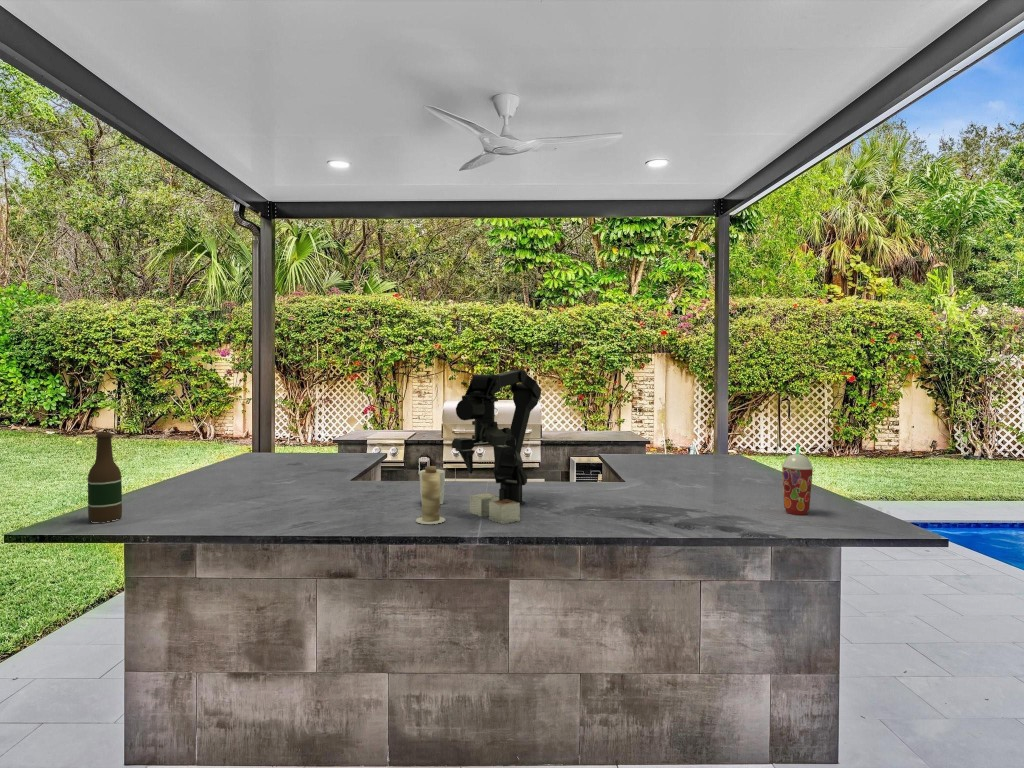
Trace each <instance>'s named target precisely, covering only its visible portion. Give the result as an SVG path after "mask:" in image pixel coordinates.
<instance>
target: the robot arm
mask: <svg viewBox="0 0 1024 768" xmlns="http://www.w3.org/2000/svg"><path fill="white" fill-rule="evenodd" d="M508 386H509V390H510V392H511V394H512V401H513V403H514V406H515V408H514V413H513V416H512V419H511V420H512V421H511V424H510V427H503V428H499V427H498V424H499V423H498V421H495V407H496V405H495V403H496V402H499V399H498V398H497V396H496V395H495V394H497V393H499V392H500V391H501V389H502V388H505V387H508ZM541 395H542V389H541V387H540V385H539V384H538V382H537V381H536V379H534V378H532V377H531V376H530V375H528V373H527V372H526V370H524V369H510V370H508V371H504V372H500V373H496V374H487V373H486V374H484V373H483V374H480V373H479V374H474V375H473V376H472V379H471V380H470V383H469V385H468V387H467V390H466V392H465V394H464V395H462V396H461V400H460V401H459V402H458V403H457V404H456V407H455V413H456V416H457V417H458V418H459V420H461V421H471V424H472V426H474V434H472V435H471V438H469V437H457V438H456V437H454V438H453V440H452V442H451V449H454V450H455V451H456V452H458V453H459V455H460V456H461V458H462V460H463V462H464V464H465V466H466V469H467V471H468V474H470V475H471V474H473V473H474V472H473V470H474V463H473V462H474V458H473V456H474V454H475V452H476V450H473V449H474V447H480V446H492V448H493V457H494V464H493V465H494V466H493V474H494V475H493V476H494V480H495V484H499V489H498V497H499V500H504V499H508V500H512V501H515V502H518V503H520V505H523V504H526V501H524V500H523V486H526V484H527V483H528V477H529V476H528V475H527V474H526V472H525V470H524V461H523V458H522V456H521V454H522V453H521V452H522V448H523V445H524V441H525V436H526V431H527V427H528V422H529V419H530V414H531V412H532V411H533V410H534V409H535V407H537V405H538V404H539V400H540V399H541V398H540V397H541Z"/></svg>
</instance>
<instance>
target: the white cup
mask: <svg viewBox="0 0 1024 768" xmlns="http://www.w3.org/2000/svg"><path fill="white" fill-rule="evenodd" d="M424 471H425V469H422V470H420V471H418V473H419V490H420V503H421V504H422V472H424ZM436 471H438V472H440V504H441V505H443V504H444V495H445V487H446V486H445V482H446V481H445V480H446V479H445V477H446V470H444V469H437V468H436Z"/></svg>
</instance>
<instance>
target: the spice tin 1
mask: <svg viewBox="0 0 1024 768" xmlns="http://www.w3.org/2000/svg"><path fill="white" fill-rule="evenodd" d="M498 500H499V495H494V494H491V493H488V492H486V493H485V492H484V493H480V494H478V493H477V494H471V495H469V513H470V514H471V515H472V514H473V515H474V516H478V517H480V516H481V518H483V517H487V516H488V517H489V502H491V501H498ZM482 516H483V517H482Z"/></svg>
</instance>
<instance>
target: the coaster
mask: <svg viewBox="0 0 1024 768" xmlns="http://www.w3.org/2000/svg"><path fill="white" fill-rule="evenodd" d="M444 521H445V522H446V518H444V517H443V516H440V520H438V521H434V522H426V521H423V520H422V516H421V517H418V518H416V519H415V523H416V522H418V523H421V524H420V525H423V524H435V525H439V524H438V523H441V524H443V523H442V522H444ZM445 522H444V523H445ZM418 523H417V524H418Z"/></svg>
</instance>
